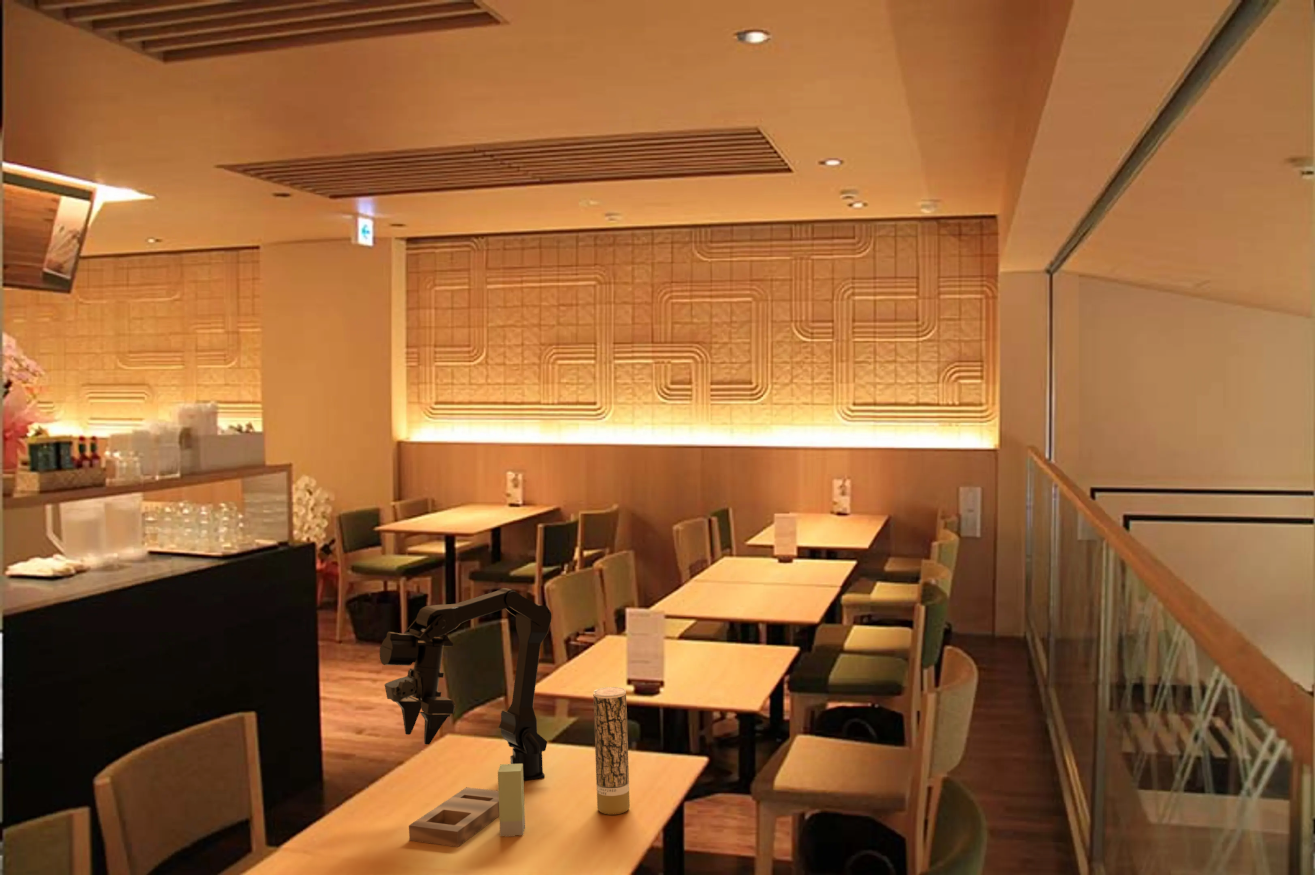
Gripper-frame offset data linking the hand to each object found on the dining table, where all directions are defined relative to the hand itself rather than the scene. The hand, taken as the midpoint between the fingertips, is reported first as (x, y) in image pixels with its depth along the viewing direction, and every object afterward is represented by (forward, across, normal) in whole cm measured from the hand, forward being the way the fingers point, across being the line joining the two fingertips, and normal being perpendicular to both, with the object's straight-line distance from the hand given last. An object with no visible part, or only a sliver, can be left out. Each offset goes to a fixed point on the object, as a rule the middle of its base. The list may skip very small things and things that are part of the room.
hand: (417, 739), depth 238 cm
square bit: (+13, +26, +10) cm, 31 cm away
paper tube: (+8, +30, +32) cm, 45 cm away
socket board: (+14, +15, +5) cm, 21 cm away
